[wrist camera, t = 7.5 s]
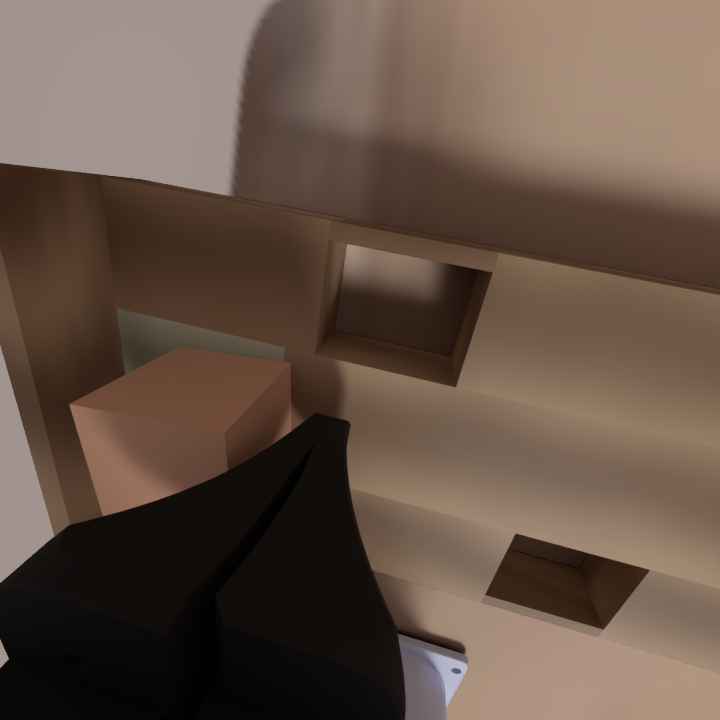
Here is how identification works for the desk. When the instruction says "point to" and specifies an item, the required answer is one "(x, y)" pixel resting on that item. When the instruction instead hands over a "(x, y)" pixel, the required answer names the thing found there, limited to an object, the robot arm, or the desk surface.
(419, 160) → the desk surface
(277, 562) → the robot arm
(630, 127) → the desk surface
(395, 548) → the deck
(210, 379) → the block
